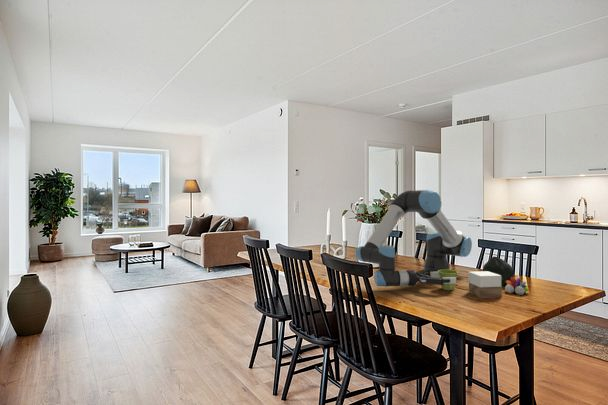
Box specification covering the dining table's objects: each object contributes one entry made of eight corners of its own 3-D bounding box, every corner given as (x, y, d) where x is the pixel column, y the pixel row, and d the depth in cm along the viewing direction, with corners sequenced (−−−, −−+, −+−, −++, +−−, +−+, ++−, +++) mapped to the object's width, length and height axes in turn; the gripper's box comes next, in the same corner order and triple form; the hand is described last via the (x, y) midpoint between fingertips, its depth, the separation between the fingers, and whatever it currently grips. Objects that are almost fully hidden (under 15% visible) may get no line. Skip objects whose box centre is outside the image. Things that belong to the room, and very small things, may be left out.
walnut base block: (468, 292, 179) (468, 282, 179) (489, 292, 180) (489, 281, 180) (480, 298, 169) (480, 287, 169) (501, 297, 170) (501, 286, 170)
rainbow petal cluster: (508, 289, 185) (508, 274, 185) (530, 293, 178) (530, 277, 178) (502, 292, 179) (502, 277, 179) (525, 296, 172) (525, 280, 172)
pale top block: (468, 282, 179) (468, 271, 179) (487, 281, 180) (487, 271, 180) (480, 287, 169) (480, 276, 169) (501, 286, 171) (501, 275, 170)
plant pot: (456, 292, 179) (456, 274, 179) (435, 289, 184) (435, 271, 184) (460, 288, 187) (460, 270, 187) (440, 286, 192) (440, 268, 192)
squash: (515, 271, 202) (495, 249, 204) (523, 278, 187) (501, 255, 189) (493, 287, 205) (473, 266, 207) (499, 295, 191) (477, 272, 193)
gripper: (398, 280, 196) (438, 279, 198) (416, 292, 171) (461, 291, 173) (398, 265, 196) (438, 265, 198) (416, 275, 171) (461, 274, 173)
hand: (449, 277), depth 185 cm, fingers open, 13 cm apart
